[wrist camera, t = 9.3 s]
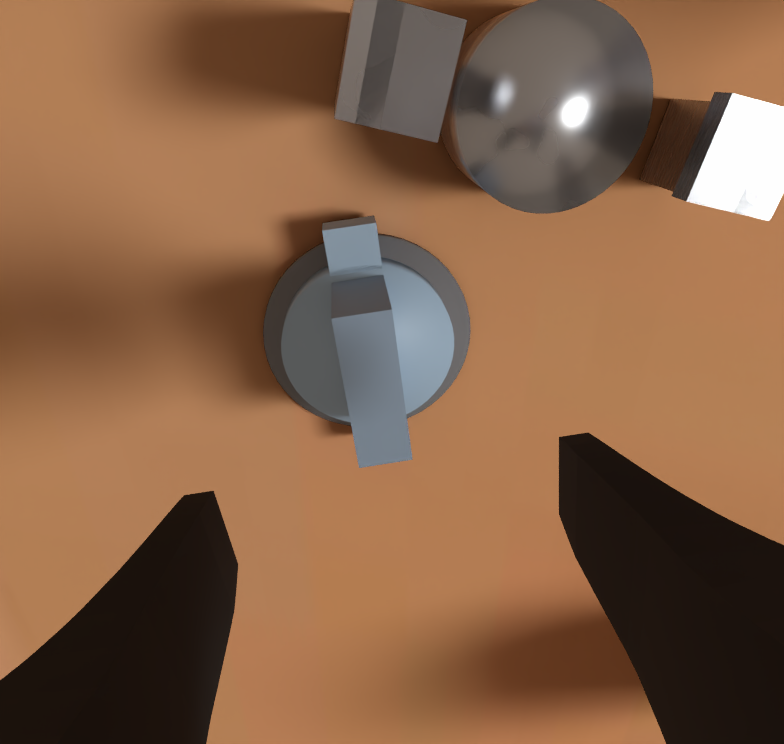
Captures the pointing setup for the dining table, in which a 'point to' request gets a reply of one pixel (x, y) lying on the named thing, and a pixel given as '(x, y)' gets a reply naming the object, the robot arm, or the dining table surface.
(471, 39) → the metal ball with blocks
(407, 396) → the cap
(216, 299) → the dining table surface
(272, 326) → the pad
